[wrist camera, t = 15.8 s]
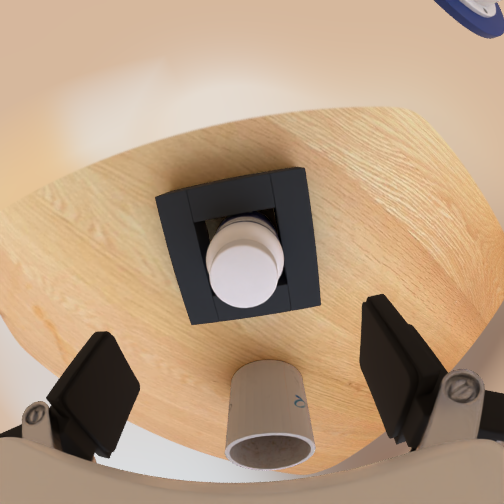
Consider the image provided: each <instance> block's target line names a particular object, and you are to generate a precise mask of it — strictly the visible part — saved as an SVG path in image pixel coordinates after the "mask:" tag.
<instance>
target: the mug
mask: <svg viewBox="0 0 504 504" xmlns="http://www.w3.org/2000/svg"><path fill="white" fill-rule="evenodd" d="M315 448H316V447H315V442H314V436H313V431H312V426H311V420H310V415H309V410H308V404H307V399H306V394H305V389H304V384H303V379H302V375H301V374H300V372H299V371H298V370H297V369H296V368H295V367H294V366H292V365H290V364H288V363H286V362H283V361H278V360H260V361H255V362H252V363H249V364H247V365H245V366H243V367H241V368H240V369H239V370H238V371H237V372H236V373H235V374H234V376H233V378H232V380H231V391H230V402H229V413H228V424H227V435H226V447H225V455H226V457H227V458H228V460H229V461H231V462H232V463H234V464H236V465H238V466H241V467H244V468H248V469H254V470H278V469H285V468H289V467H292V466H295V465H298V464H300V463H302V462H304V461H306V460H307V459H309V458H310V457H311V456H312V455H313V453H314V452H315Z"/></svg>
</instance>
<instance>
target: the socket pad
mask: <svg viewBox="0 0 504 504" xmlns="http://www.w3.org/2000/svg"><path fill="white" fill-rule="evenodd" d="M155 199H156V204H157V208H158V212H159V216H160V220H161V224H162V228H163V232H164V236H165V240H166V243H167V247H168V251H169V254H170V258H171V261H172V265H173V268H174V272H175V275H176V278H177V282H178V285H179V288H180V291H181V294H182V298H183V301H184V304H185V307H186V310H187V313H188V316H189V319H190V322H191V325H196V324H205V323H213V322H219V321H228V320H235V319H243V318H249V317H256V316H263V315H269V314H275V313H281V312H287V311H291V310H292V311H293V310H299V309H304V308H310V307H315V306H320V305H321V298H320V286H319V275H318V265H317V255H316V246H315V237H314V229H313V221H312V213H311V206H310V199H309V192H308V185H307V179H306V172H305V168H302V167H292V168H285V169H279V170H272V171H267V172H261V173H255V174H249V175H244V176H238V177H233V178H228V179H223V180H218V181H213V182H209V183H204V184H199V185H195V186H191V187H186V188H182V189H178V190H174V191H170V192H167V193H165V194H162V195H159V196H157V197H155ZM270 208H274V214H275V220H276V226H277V233H278V238H279V241H280V244H281V246H282V250H283V255H284V265H283V270H282V273H281V275H280V277H279V279H278V283H277V286H276V289H275V291H274V293H273V294H272V295H271V296H270V298H269V299H268V300H266V301H265V302H263V303H262V304H260V305H257V306H254V307H249V308H239V307H234V306H231V305H229V304H227V303H225V302H224V301H222V300H221V299H220V298H219V297H218V296H217V295H216V294H215V292H214V291H213V289H212V287H211V284H210V278H209V273H208V270H207V265H206V255H207V250H208V247H209V245H210V240H209V236H208V232H207V227H206V223H205V220H210V219H215V218H220V217H225V216H230V215H236V214H241V213H247V212H252V211H258V210H264V209H270Z"/></svg>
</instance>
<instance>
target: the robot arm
mask: <svg viewBox="0 0 504 504" xmlns="http://www.w3.org/2000/svg"><path fill="white" fill-rule="evenodd" d="M459 1H460V2H462V3H463V4H464V5H465V6H466V7H468V8H469V9H471V10H472V11H473V12H475V13H477V14H478V15H480V16H483V17H486V18H489V17H492V16H494V15H495V14H496V7H495V3H496V2H498V1H501V0H459ZM360 367H361V370H362V372H363V374H364V377H365V379H366V382H367V384H368V386H369V389H370V391H371V394H372V396H373V399H374V401H375V404H376V406H377V409H378V411H379V414H380V416H381V419H382V422H383V424H384V427H385V429H386V432H387V435H388V436H389V438H394V439H395V442H396V444H399V443H402V442H405V441H406V442H407V445H408V447H411V448H410V451H409V453H407V454H404V455H400V456H397V457H394V458H390V459H387V460H384V461H380V462H376V463H373V464H369V465H366V466H362V467H358V468H354V469H350V470H345V471H341V472H336V473H331V474H326V475H320V476H313V477H307V478H300V479H293V480H283V481H272V482H256V483H211V482H196V481H184V480H175V479H167V478H161V477H153V476H148V475H143V474H138V473H133V472H128V471H124V470H120V469H116V468H112V467H108V466H104V465H101V464H97V463H96V460H95V457H94V453H96V454H97V455H98V456H101V457H105V458H110V455H111V453H112V452H113V451H114V450H115V449H116V446H117V443H118V441H119V438H120V436H121V433H122V431H123V429H124V426H125V424H126V421H127V419H128V417H129V414H130V412H131V409H132V407H133V405H134V402H135V400H136V398H137V396H138V393H139V391H140V384H139V382H138V380H137V378H136V377H135V375H134V373H133V371H132V370H131V368H130V366H129V364H128V363H127V361H126V359H125V357H124V355H123V353H122V351H121V349H120V347H119V345H118V344H117V342H116V340H115V338H114V336H113V335H111V334H110V333H109V332H107V331H104V332H95V333H94V334H93V335H92V336H91V338H90V339H89V340H88V341H87V343H86V344H85V345H84V346H83V348H82V349H81V350H80V352H79V353H78V354H77V356H76V357H75V358H74V360H73V361H72V362H71V364H70V365H69V366H68V368H67V369H66V370H65V372H64V373H63V374H62V376H61V377H60V379H59V380H58V381H57V383H56V384H55V386H54V387H53V389H52V390H51V391H50V393H49V394H48V396H47V397H46V399H47V400H48V401H49V402H50V404H51V407H50V408H49V406H48V405H47V404H46V403H45V402H43V401H38V402H34V403H33V404H31V405H30V406H28V407H27V408H26V410H25V411H24V413H23V416H22V424H21V425H19V426H17V427H15V428H12V429H10V430H8V431H6V432H3V433H1V434H0V504H504V394H503V393H497V392H492V391H487V390H485V389H484V383H483V380H482V379H481V377H479V375H478V374H476V373H475V372H473V371H471V370H467V369H458V370H453V371H451V372H449V373H448V372H447V371H446V369H445V368H444V366H443V365H442V364H441V362H440V361H439V359H438V358H437V357H436V355H435V354H434V353H433V351H432V350H431V349H430V347H429V346H428V345H427V343H426V342H425V341H424V339H423V338H422V337H421V336H420V334H419V333H418V332H417V330H416V329H415V328H414V327H413V326H412V325H410V324H407V322H406V321H405V320H404V318H403V317H402V316H401V315H400V313H399V312H398V311H397V310H396V308H395V307H394V306H393V305H392V303H391V302H390V301H389V300H388V299H387V297H386V296H385V295H384V294H379V295H375V296H371V297H368V298H367V301H366V302H363V304H362V325H361V345H360Z"/></svg>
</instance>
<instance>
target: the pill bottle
mask: <svg viewBox="0 0 504 504" xmlns="http://www.w3.org/2000/svg"><path fill="white" fill-rule="evenodd" d="M206 265H207V270H208V273H209V278H210V284H211V287H212V289H213V291H214V292H215V294H216V295H217V296H218V297H219V298H220V299H221V300H222V301H224V302H225V303H227V304H229V305H231V306H234V307H239V308H249V307H254V306H257V305H260V304H262V303H263V302H265V301H266V300H268V299H269V298H270V296H271V295H272V294H273V293H274V291H275V289H276V286H277V283H278V279H279V277H280V275H281V273H282V270H283V265H284V255H283V250H282V246H281V244H280V241H279V238H278V235H277V232H276V229H275V227H274V225H273V223H272V222H271V220H270V219H269V218H268V217H267V216H265V215H264V214H262V213H261V212H259V211H252V212H247V213H241V214H236V215H230V216H227V217H226V218H225V219H224V220H223V221H222V222H221V224H220V226H219V228H218V230H217V232H216V234H215V236H214V237H213V239H212V241H211V243H210V245H209V247H208V250H207V255H206Z"/></svg>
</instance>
